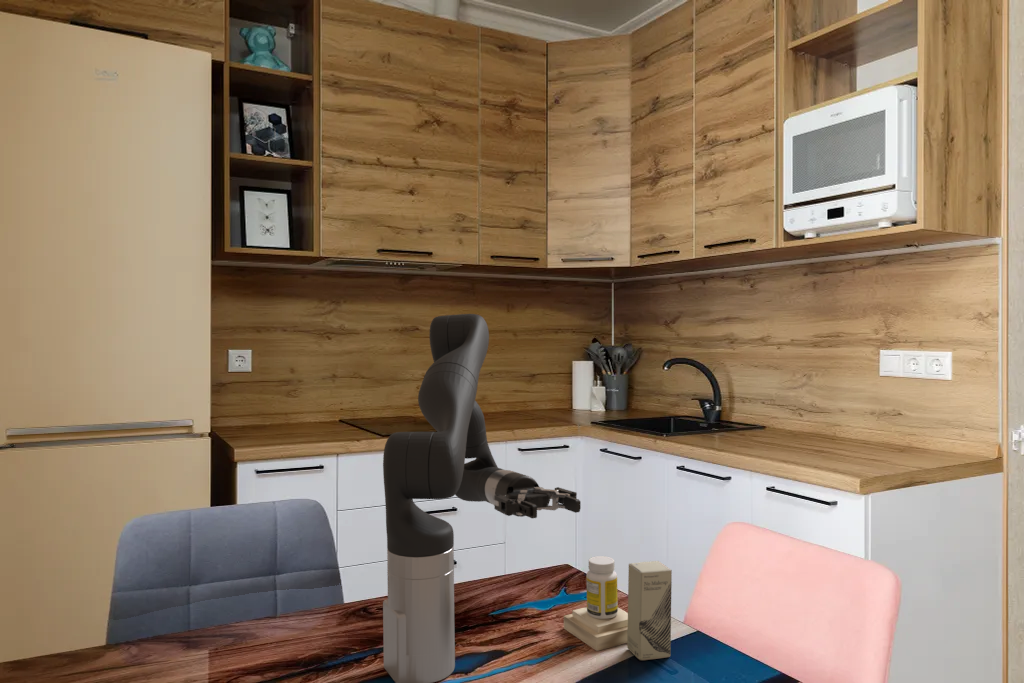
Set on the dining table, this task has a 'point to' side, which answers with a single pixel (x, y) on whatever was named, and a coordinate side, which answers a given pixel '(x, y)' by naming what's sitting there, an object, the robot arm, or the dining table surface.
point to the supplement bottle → (602, 588)
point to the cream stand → (598, 628)
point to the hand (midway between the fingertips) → (557, 509)
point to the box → (649, 610)
